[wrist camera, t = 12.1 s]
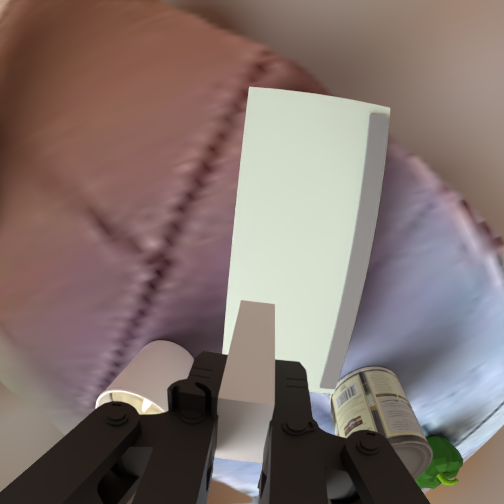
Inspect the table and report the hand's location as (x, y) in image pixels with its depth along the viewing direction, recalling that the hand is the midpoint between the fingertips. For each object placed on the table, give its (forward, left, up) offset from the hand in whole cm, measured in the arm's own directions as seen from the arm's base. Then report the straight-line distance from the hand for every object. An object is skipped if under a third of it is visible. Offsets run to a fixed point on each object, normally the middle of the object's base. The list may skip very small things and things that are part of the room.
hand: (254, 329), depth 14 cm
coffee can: (+16, -20, -21) cm, 33 cm away
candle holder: (-11, -19, -21) cm, 31 cm away
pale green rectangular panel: (+3, 0, -15) cm, 15 cm away
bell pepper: (+32, -32, -21) cm, 50 cm away
